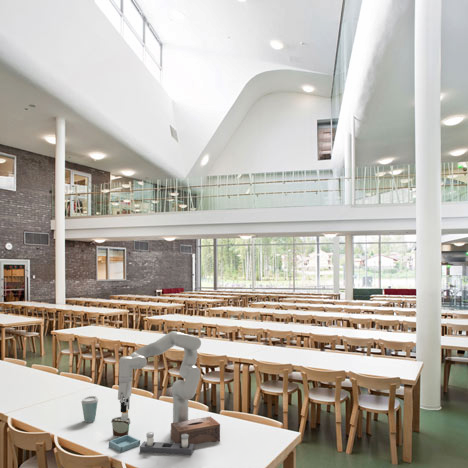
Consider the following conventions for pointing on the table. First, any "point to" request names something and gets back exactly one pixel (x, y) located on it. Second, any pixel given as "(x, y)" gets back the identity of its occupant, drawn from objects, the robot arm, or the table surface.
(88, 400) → the disposable coffee cup
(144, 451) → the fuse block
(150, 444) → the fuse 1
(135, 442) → the tray
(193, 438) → the tissue box cover
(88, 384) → the table surface
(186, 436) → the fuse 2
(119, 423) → the food container
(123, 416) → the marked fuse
